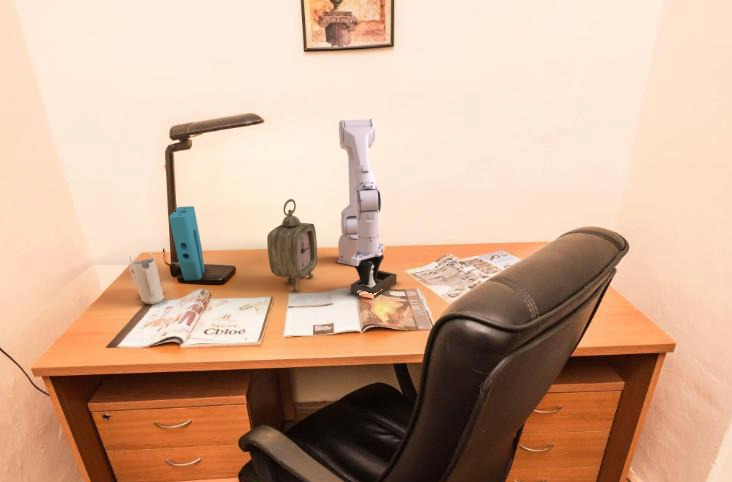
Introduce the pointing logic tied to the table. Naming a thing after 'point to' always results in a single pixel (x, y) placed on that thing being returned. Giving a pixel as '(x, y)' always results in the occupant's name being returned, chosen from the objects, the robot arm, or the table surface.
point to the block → (187, 242)
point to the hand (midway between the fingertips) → (368, 281)
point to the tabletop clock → (292, 248)
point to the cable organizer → (147, 280)
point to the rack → (382, 282)
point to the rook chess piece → (371, 278)
